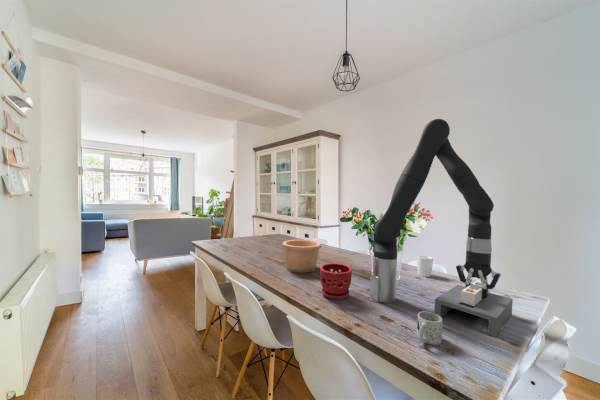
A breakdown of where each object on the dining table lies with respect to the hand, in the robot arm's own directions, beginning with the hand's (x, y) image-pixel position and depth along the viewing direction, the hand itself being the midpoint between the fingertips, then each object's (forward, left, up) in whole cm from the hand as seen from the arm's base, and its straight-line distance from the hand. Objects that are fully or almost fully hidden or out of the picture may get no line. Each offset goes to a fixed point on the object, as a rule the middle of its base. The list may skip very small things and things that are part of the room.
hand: (476, 296), depth 95 cm
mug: (-31, -12, -7) cm, 33 cm away
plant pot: (-46, +24, -7) cm, 52 cm away
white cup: (+13, +43, -7) cm, 46 cm away
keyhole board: (-2, -1, -7) cm, 7 cm away
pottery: (-51, +64, -7) cm, 82 cm away
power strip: (0, 0, -3) cm, 3 cm away
